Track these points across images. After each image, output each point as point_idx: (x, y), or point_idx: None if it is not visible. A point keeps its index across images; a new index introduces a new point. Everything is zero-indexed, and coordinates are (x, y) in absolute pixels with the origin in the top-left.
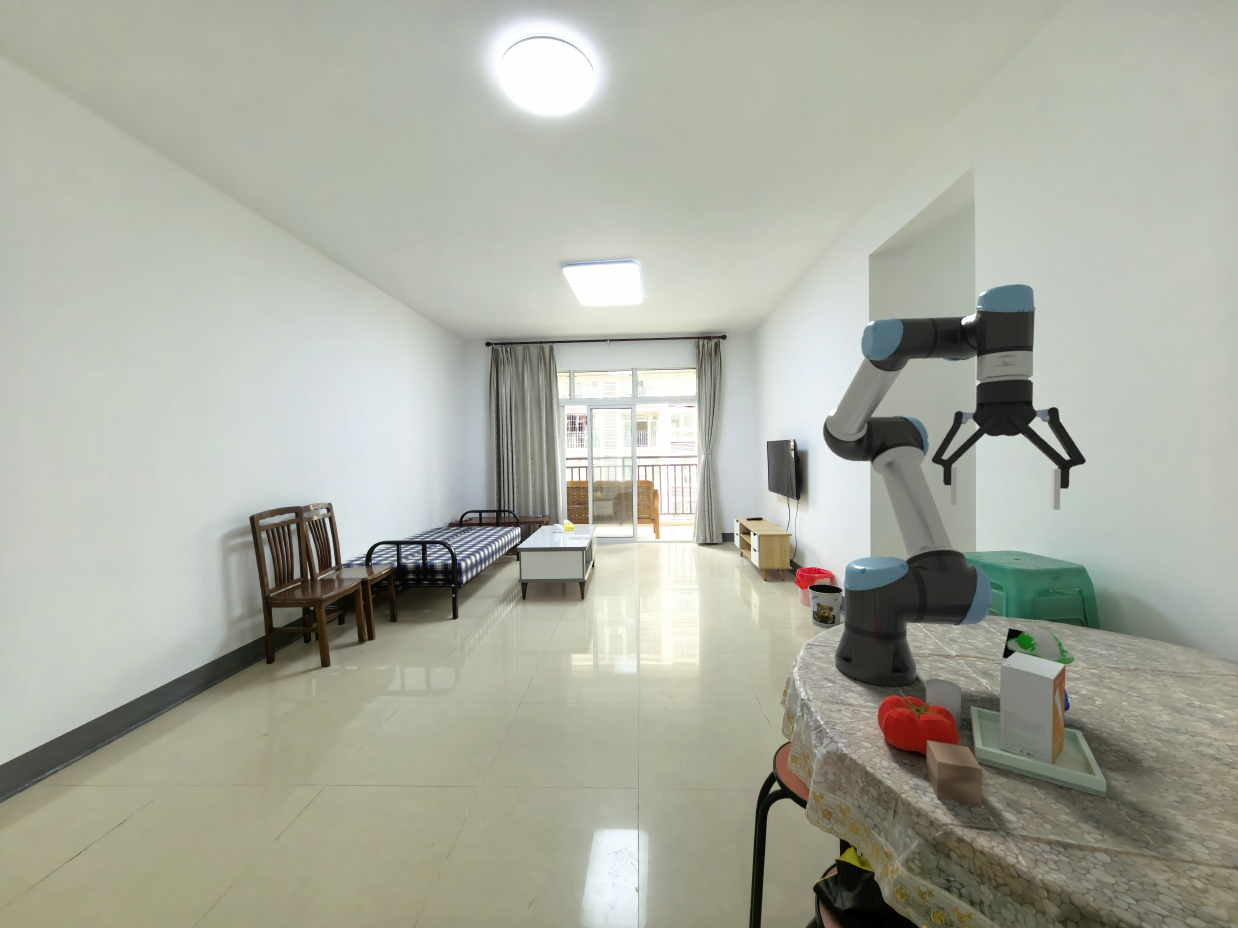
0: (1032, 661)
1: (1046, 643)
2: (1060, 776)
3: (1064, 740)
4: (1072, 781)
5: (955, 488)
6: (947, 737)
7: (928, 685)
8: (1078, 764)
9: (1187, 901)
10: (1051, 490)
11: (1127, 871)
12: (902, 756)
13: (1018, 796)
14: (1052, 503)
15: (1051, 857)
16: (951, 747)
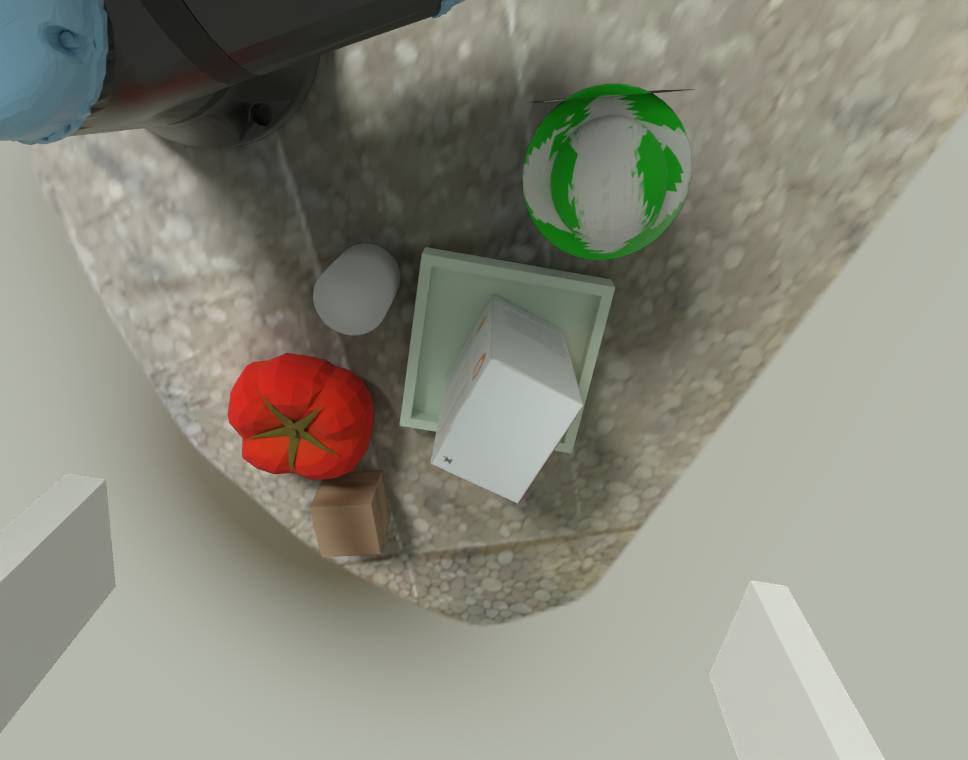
0: (509, 419)
1: (608, 241)
2: None
3: (579, 297)
4: None
5: (12, 707)
6: (345, 473)
7: (317, 312)
8: None
9: (560, 590)
10: (801, 730)
11: (521, 570)
12: None
13: (445, 480)
14: (737, 676)
15: (448, 577)
16: (345, 514)
